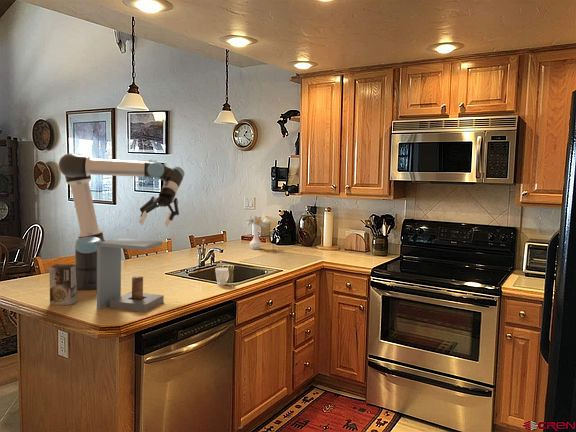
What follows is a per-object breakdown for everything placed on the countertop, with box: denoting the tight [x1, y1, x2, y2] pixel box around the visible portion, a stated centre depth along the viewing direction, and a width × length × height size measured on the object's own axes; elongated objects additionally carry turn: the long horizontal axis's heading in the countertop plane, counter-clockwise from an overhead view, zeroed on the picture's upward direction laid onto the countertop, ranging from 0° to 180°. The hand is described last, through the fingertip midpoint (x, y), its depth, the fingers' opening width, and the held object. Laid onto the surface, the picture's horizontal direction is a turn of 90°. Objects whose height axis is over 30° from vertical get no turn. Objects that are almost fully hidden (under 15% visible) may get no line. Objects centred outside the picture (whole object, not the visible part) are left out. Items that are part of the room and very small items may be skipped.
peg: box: [131, 275, 144, 300], centre depth 202 cm, size 4×4×12 cm
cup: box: [214, 267, 230, 286], centre depth 246 cm, size 7×10×8 cm
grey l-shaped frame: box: [96, 237, 163, 310], centre depth 198 cm, size 21×15×28 cm
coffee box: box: [48, 263, 78, 306], centre depth 200 cm, size 9×6×16 cm
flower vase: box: [246, 215, 269, 250], centre depth 362 cm, size 13×18×25 cm
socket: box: [109, 291, 165, 313], centre depth 202 cm, size 16×16×3 cm
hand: (153, 223), depth 228 cm, fingers open, 13 cm apart
